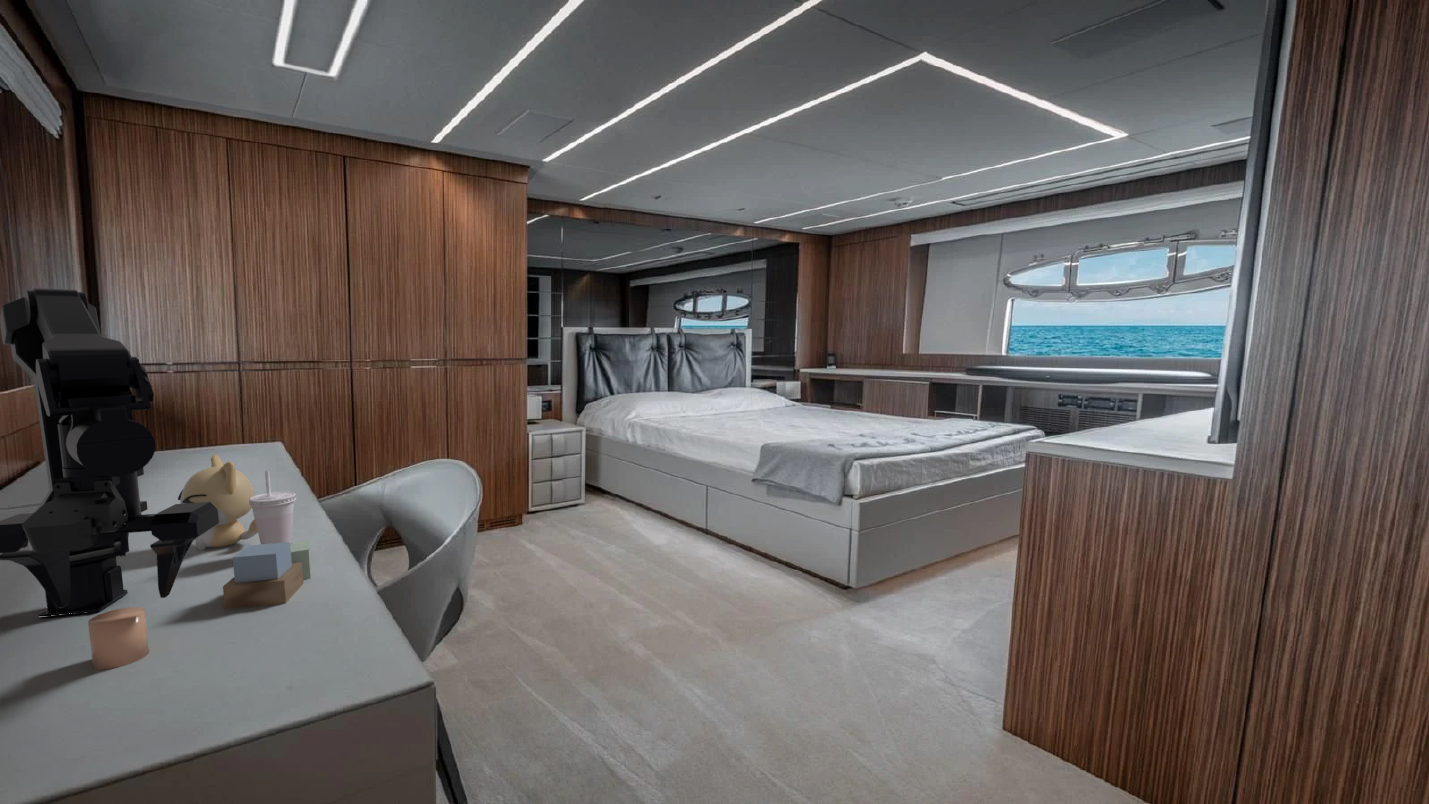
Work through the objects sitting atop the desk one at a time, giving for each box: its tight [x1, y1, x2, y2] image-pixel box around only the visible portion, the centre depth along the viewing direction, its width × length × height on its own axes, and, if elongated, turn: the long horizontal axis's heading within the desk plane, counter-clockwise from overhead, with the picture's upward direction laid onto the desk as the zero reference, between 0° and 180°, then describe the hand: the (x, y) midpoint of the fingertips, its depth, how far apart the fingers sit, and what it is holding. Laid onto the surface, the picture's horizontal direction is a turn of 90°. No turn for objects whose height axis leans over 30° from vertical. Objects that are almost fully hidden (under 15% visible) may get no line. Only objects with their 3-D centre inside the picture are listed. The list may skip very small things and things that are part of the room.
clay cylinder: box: [87, 606, 150, 670], centre depth 71 cm, size 5×5×5 cm
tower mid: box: [232, 542, 292, 583], centre depth 87 cm, size 5×5×4 cm
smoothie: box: [249, 470, 297, 544], centre depth 104 cm, size 6×6×14 cm
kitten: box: [177, 454, 258, 551], centre depth 108 cm, size 15×10×15 cm
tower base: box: [222, 563, 304, 611], centre depth 87 cm, size 7×7×4 cm
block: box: [290, 540, 312, 581], centre depth 94 cm, size 4×4×4 cm
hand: (115, 601), depth 70 cm, fingers open, 9 cm apart
